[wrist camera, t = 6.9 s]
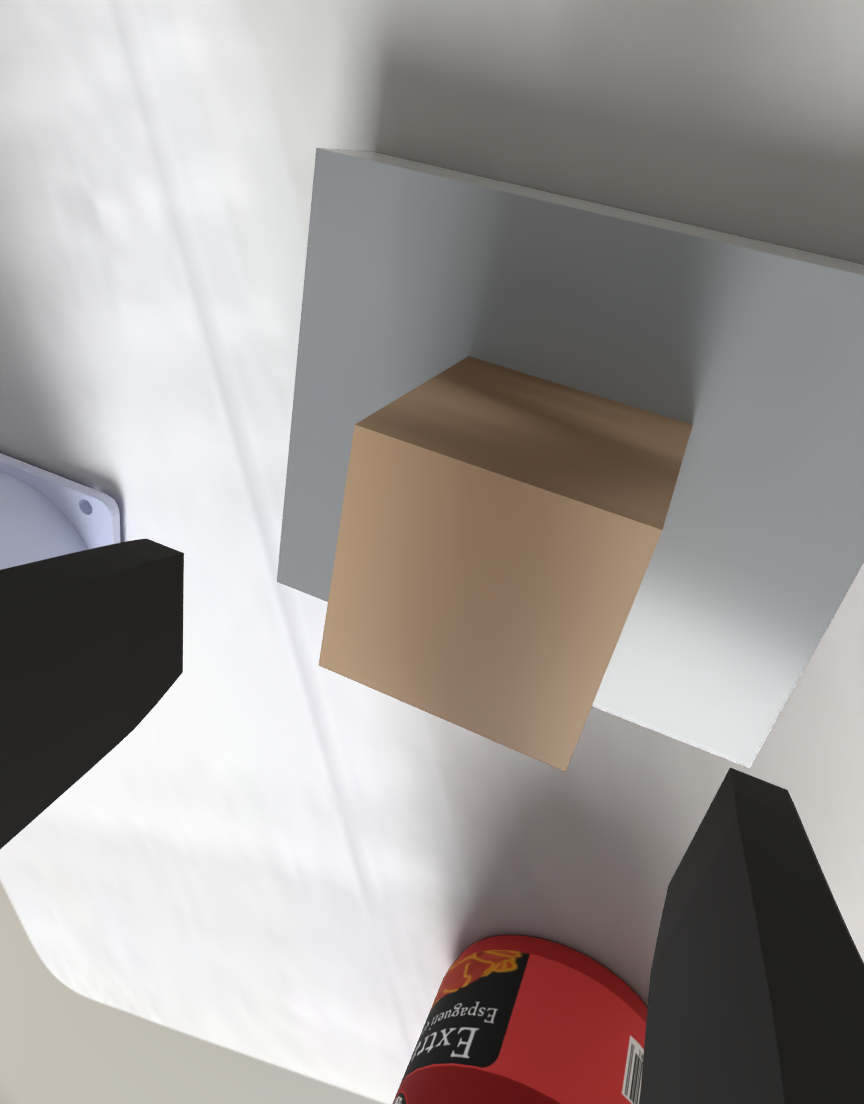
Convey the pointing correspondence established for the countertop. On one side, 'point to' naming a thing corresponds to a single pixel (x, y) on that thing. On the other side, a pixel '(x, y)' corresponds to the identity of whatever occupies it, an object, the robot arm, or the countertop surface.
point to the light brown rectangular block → (497, 549)
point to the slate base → (617, 374)
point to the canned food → (528, 1030)
